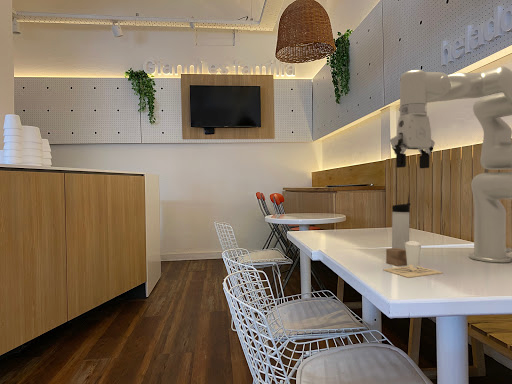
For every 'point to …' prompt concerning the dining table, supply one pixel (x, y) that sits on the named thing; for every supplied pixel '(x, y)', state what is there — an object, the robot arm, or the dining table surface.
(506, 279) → the dining table surface
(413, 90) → the robot arm
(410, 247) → the milkshake
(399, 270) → the letter
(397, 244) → the travel mug
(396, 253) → the walnut block
